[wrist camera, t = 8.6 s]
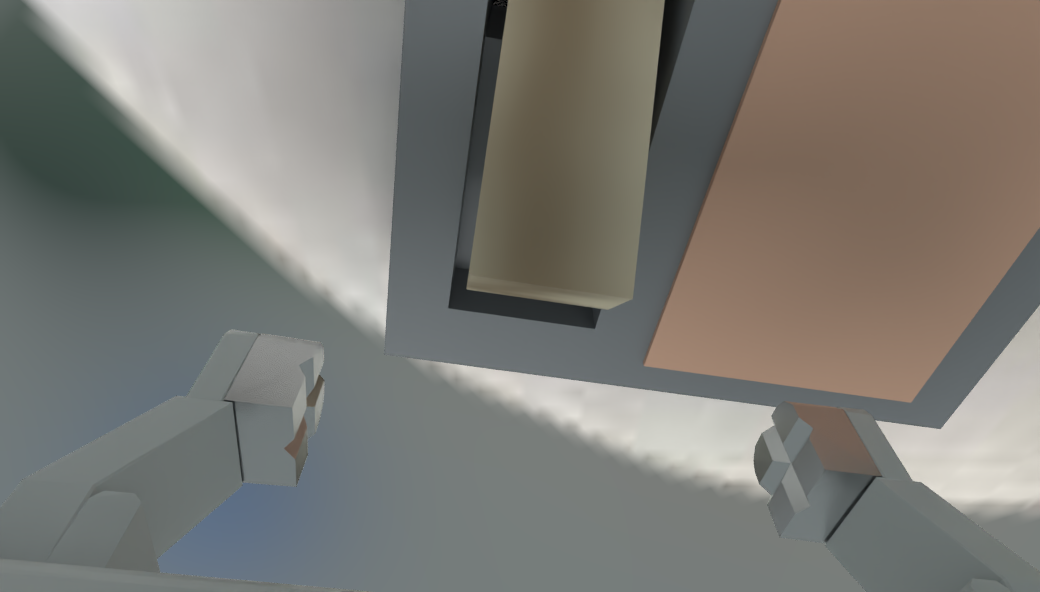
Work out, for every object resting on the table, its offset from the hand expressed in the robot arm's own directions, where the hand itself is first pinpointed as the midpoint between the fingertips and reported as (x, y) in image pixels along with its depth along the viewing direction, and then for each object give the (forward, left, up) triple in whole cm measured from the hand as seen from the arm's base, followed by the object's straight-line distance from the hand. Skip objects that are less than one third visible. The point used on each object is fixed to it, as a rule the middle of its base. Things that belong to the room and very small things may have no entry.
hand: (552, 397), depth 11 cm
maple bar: (0, -3, -11) cm, 11 cm away
